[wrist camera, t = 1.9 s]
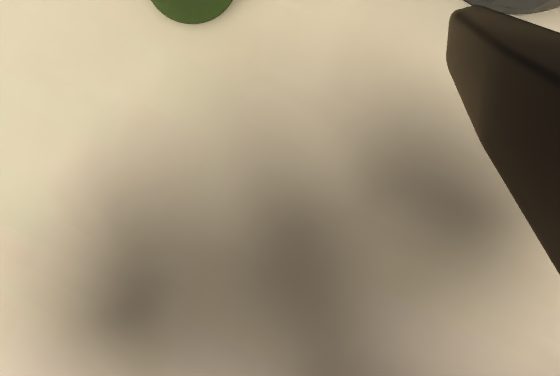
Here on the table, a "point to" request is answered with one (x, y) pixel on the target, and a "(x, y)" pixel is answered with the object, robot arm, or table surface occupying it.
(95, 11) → the table surface
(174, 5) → the sponge wand
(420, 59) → the table surface
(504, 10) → the blue-grey hollow cylinder
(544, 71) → the robot arm
